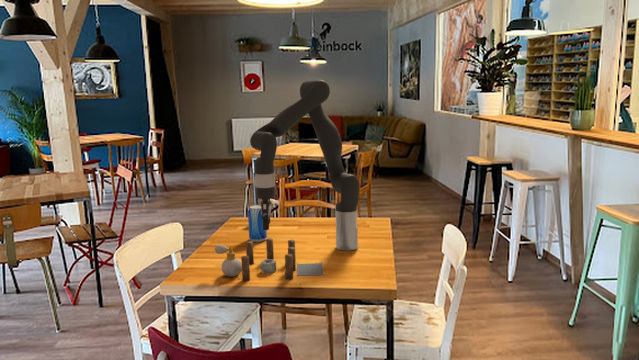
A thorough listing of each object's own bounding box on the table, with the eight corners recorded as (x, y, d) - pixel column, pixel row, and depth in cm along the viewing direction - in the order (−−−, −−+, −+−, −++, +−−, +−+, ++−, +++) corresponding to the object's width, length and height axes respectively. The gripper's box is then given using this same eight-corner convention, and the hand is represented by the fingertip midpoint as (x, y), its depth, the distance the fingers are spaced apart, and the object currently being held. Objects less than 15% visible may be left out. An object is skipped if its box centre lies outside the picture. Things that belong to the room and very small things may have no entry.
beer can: (264, 242, 217) (262, 209, 214) (246, 242, 219) (245, 208, 216) (269, 237, 225) (268, 204, 222) (252, 236, 227) (251, 204, 224)
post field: (295, 257, 197) (294, 237, 195) (295, 279, 174) (295, 256, 173) (247, 259, 196) (246, 239, 194) (242, 281, 173) (240, 258, 172)
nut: (276, 268, 186) (276, 258, 185) (276, 273, 181) (275, 263, 180) (261, 269, 185) (261, 259, 185) (261, 274, 180) (260, 263, 180)
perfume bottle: (242, 278, 177) (240, 247, 174) (215, 280, 175) (213, 249, 173) (241, 270, 184) (240, 241, 182) (216, 273, 182) (214, 243, 180)
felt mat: (321, 263, 190) (321, 263, 190) (323, 274, 178) (323, 274, 178) (297, 264, 189) (297, 263, 189) (297, 275, 178) (297, 275, 178)
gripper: (274, 188, 170) (275, 231, 173) (275, 181, 184) (277, 221, 187) (253, 189, 170) (255, 232, 173) (256, 181, 184) (258, 221, 187)
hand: (266, 226), depth 180 cm, fingers open, 8 cm apart
